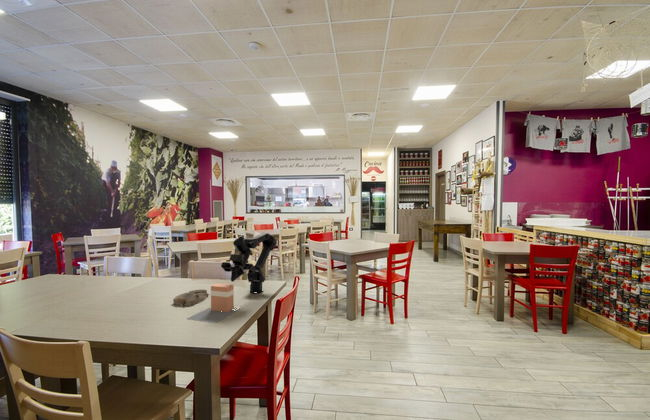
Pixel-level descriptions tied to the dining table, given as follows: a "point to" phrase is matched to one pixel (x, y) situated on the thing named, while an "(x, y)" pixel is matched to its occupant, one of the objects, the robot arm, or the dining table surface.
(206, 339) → the dining table surface
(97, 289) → the dining table surface
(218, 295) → the tall box
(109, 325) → the dining table surface
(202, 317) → the mat
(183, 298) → the weathered wood piece
